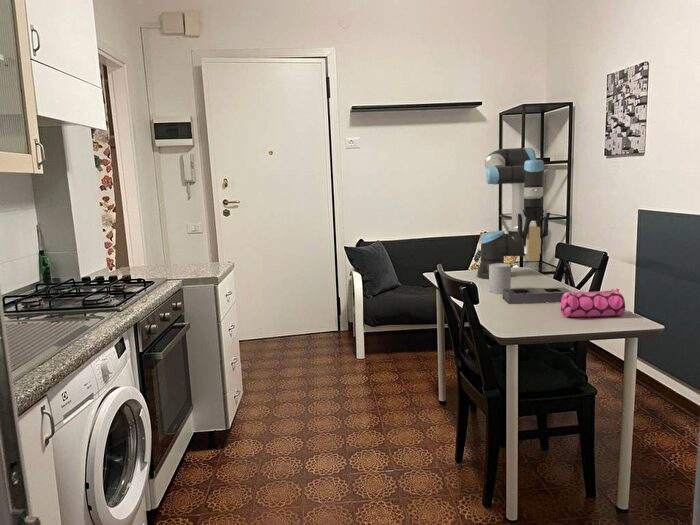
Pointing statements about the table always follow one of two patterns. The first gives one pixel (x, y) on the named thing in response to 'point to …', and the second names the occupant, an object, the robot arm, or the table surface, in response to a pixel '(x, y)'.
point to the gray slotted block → (533, 295)
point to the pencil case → (592, 304)
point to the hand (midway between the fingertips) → (532, 253)
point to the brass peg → (533, 243)
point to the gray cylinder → (499, 277)
